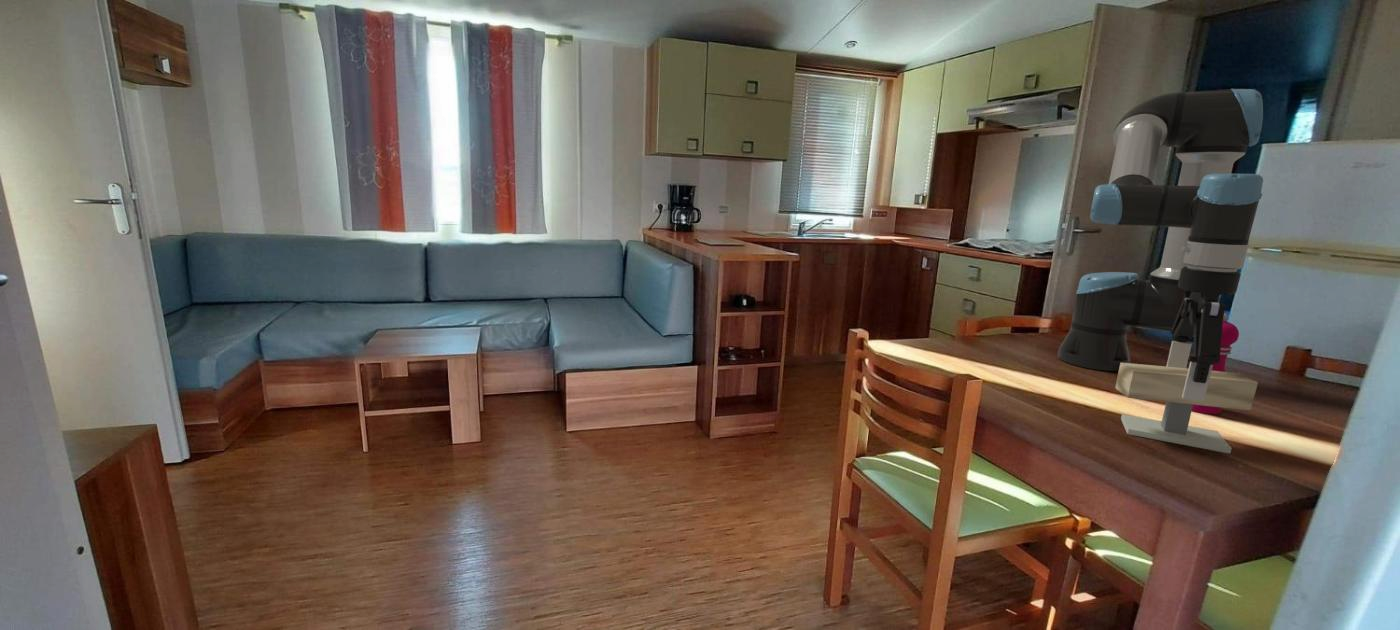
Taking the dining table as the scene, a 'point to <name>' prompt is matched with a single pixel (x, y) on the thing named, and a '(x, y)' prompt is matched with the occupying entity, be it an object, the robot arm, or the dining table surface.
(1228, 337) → the pepper mill
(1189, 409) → the stand
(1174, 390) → the beech bar
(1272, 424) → the dining table surface
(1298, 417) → the dining table surface
